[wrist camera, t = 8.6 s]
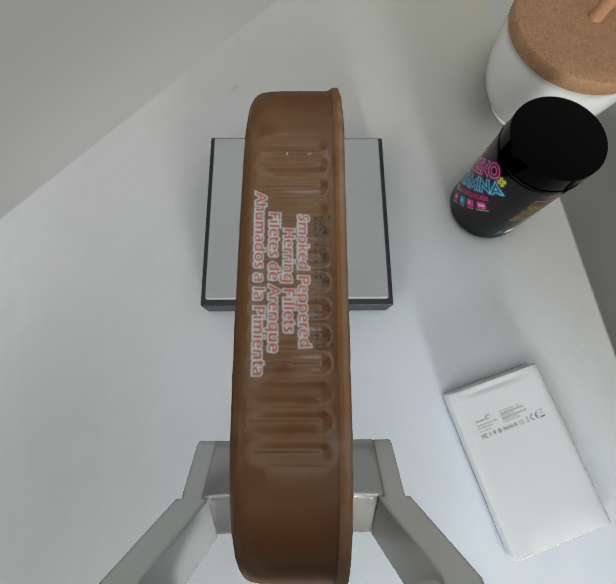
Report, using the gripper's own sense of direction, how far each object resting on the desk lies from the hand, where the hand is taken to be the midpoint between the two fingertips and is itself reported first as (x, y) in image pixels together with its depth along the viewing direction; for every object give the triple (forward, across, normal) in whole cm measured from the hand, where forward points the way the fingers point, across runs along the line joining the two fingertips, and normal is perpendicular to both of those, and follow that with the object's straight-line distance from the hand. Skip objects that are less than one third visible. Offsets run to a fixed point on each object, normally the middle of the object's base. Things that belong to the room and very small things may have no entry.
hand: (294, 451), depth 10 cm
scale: (+25, 0, +2) cm, 25 cm away
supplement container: (+26, -18, +1) cm, 32 cm away
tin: (+6, 0, 0) cm, 6 cm away
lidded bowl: (+35, -24, -7) cm, 43 cm away
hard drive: (+11, -18, +17) cm, 27 cm away
